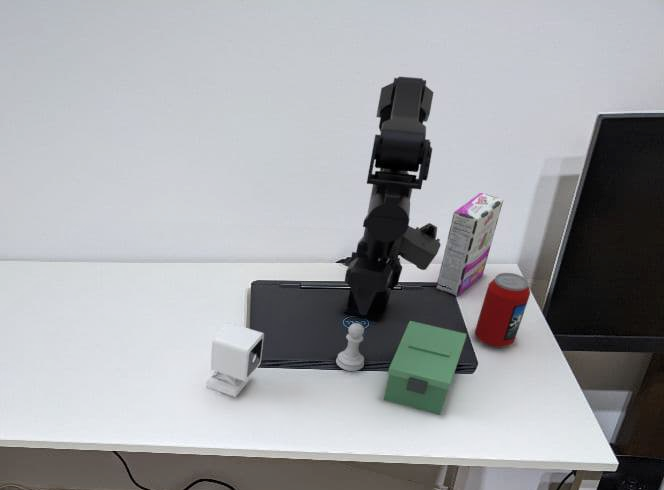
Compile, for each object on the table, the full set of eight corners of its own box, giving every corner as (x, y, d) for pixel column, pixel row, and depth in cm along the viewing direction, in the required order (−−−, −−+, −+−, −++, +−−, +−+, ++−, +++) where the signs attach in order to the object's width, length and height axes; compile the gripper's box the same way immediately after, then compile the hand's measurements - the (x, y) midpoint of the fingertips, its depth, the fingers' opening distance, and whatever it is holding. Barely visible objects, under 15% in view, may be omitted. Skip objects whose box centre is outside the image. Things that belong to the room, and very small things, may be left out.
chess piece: (340, 372, 144) (347, 333, 139) (332, 356, 148) (339, 317, 143) (367, 371, 144) (375, 331, 139) (359, 355, 148) (366, 316, 143)
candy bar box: (459, 267, 172) (480, 191, 161) (483, 276, 169) (505, 199, 159) (433, 288, 165) (453, 210, 155) (457, 297, 163) (479, 218, 152)
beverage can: (516, 352, 148) (536, 292, 141) (475, 348, 149) (493, 288, 142) (510, 331, 153) (529, 272, 146) (471, 327, 154) (488, 269, 147)
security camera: (242, 401, 138) (247, 350, 132) (204, 388, 141) (207, 337, 135) (259, 381, 142) (264, 331, 136) (221, 368, 145) (225, 319, 139)
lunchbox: (381, 401, 138) (388, 367, 133) (403, 349, 149) (410, 317, 145) (440, 417, 134) (450, 383, 130) (458, 363, 146) (468, 330, 141)
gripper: (431, 248, 119) (408, 341, 129) (452, 197, 132) (430, 284, 142) (352, 233, 123) (336, 324, 133) (380, 184, 136) (364, 270, 146)
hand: (369, 300), depth 138 cm, fingers open, 9 cm apart
